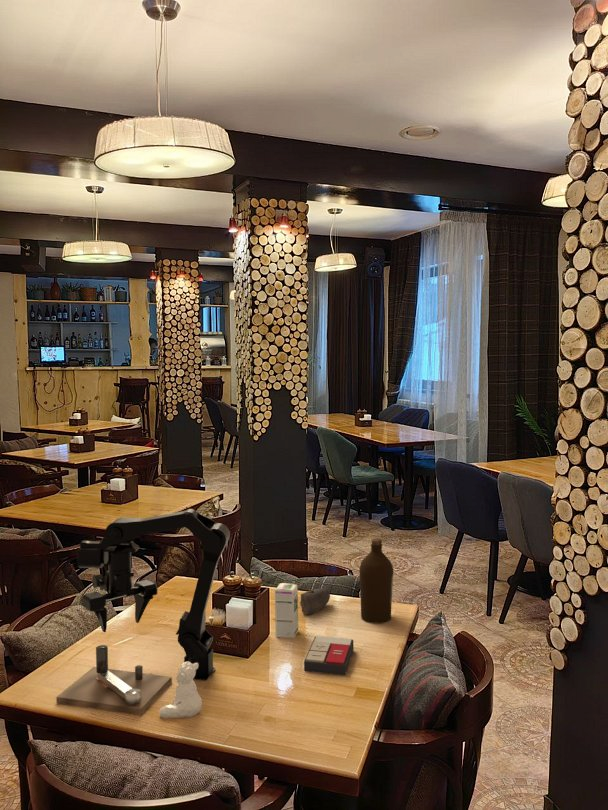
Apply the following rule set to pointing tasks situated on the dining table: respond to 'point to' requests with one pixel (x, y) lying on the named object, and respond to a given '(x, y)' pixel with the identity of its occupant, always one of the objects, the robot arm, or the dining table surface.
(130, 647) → the dining table surface
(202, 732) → the dining table surface
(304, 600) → the perforated stone tool
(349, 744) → the dining table surface
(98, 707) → the board
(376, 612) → the olive oil
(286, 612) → the syrup box
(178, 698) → the sitting furry creature
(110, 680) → the lever
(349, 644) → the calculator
